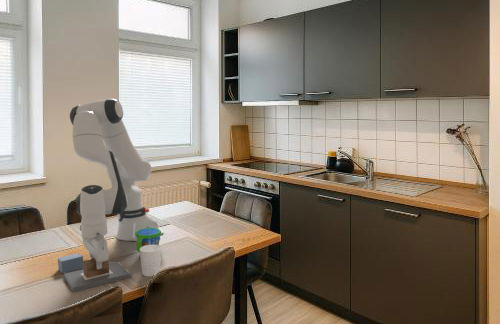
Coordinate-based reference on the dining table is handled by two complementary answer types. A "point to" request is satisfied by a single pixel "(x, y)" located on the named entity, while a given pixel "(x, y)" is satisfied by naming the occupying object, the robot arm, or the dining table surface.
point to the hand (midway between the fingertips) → (96, 265)
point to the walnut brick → (94, 268)
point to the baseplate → (95, 277)
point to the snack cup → (147, 237)
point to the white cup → (150, 259)
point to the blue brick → (70, 263)
